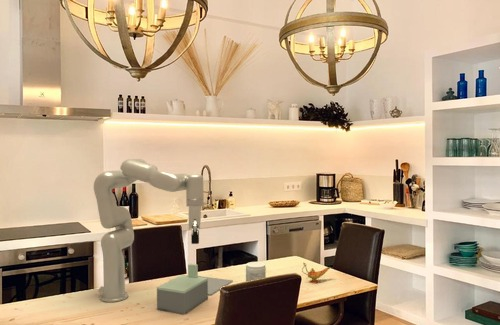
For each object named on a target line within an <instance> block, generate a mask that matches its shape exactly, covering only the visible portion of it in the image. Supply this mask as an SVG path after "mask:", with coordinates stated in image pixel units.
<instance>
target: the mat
mask: <svg viewBox="0 0 500 325" xmlns="http://www.w3.org/2000/svg"><path fill="white" fill-rule="evenodd" d="M198 277H203V278H208V296H213V295H215V294H216V293H217V292H219V291H220V288H221V287H223V286H225V287H227V286H229V285H230V284H231V283H233V282H234V280H232V279H226V278H225V279H223V278H217V277H210V276H201V275H198ZM226 285H227V286H226Z"/></svg>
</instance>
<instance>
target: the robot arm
mask: <svg viewBox="0 0 500 325" xmlns="http://www.w3.org/2000/svg"><path fill="white" fill-rule="evenodd" d="M136 181H140V182H144V183H147V184H149V185H150V186H152V187H154V188H156V189H159V190H162V191H165V192H170V193H176V192H180V191H186V192H185V193H186V194H185V196H186V198H185V199H186V201H185V202H186V207H188V229H189V230H191V235H190V236H191V237H190V238H191V245H198V244H200V228H201V221H202V220H201V219H202V218H201V217H202V207H203V206H204V203H205V202H204V195H205V194H204V175H202V174H197V173H196V174H187V173H174V174H171V173H168V172H163V171H161V170H158V166H156V165H154V164H150V163H148V162H146V161H145V160H144V159H141V158H128V159H125V160H123V162H121V165H120V169H119V170H107V171H103V172H102V173H100V174H99V175H97V176H96V177H95V179H94V182H93V191H94V196H95V199H96V203H97V204H96V205H97V209H98V211H97V212H98V216H99V221H100V224H101V226H102V228H104V229H109V230H110V229H113V228H114V230H112V231H108V232H107V233H105V234H104V235H103V236H102V237H101V240H100V247H101V253H102V258H103V259H102V262H103V263H102V266H103V285H102V286H100V287H99V288H98V289H97V290H98V292H99V293H101V295H100V299H99V300H101V301H102V302H105V303H115V302H120V301H124V300H126V299H127V298H128V297H129V293H128V292H127V291H126V279H125V278H126V277H125V276H126V273H125V271H126V270H125V264H126V263H125V256H124V253H123V249H126V248H128V247H130V246H131V245H132V244H133V243H134V241H135V232H134V227H133V220H132V217H131V216H132V215H131V213H130V211H129V209H128V208H126V207H125V206H121V205H119V206H118V204H117V199H116V196H115V194H114V193H113V192H112V190H114V189H121V188H126V187H128V186H130V185H132V184H133V183H135V182H136Z"/></svg>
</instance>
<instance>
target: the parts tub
mask: <svg viewBox="0 0 500 325" xmlns="http://www.w3.org/2000/svg"><path fill="white" fill-rule="evenodd" d="M208 300H209V295H208V280H207V281H205V282H204V283H202V284H200V285H198V286H197V287H195V288H193V289H191V290H190V291H188V292H186V293H178V292H171V291H165V290H158V289H157V288H156V310H157V311H160V312H161V311H162V312H168V313H174V314H179V315H184V316H185V315H187V313H189V312H191V311H192V310H194V309H195V308H197V307H198V306H200V305H201V304H203V303H205V302H206V301H208Z"/></svg>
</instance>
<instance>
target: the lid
mask: <svg viewBox="0 0 500 325" xmlns="http://www.w3.org/2000/svg"><path fill="white" fill-rule="evenodd" d="M198 270H199V267H198V264H195V263H189V264H187V275H186V274H181V275H178V276H177V277H175V278H173V279H170V280H169V281H167V282H164V283H162V284H160V285H158V286H156V290H157V289H158V290H165V291H171V292H178V293H186V292H188V291H190V290H191V289H193V288H195V287H197V286H198V285H200V284H202V283H204V282H205V281H207V280H208V278H203V277H204V276H203V277H198V276H199V275H198V273H199V272H198Z"/></svg>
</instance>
